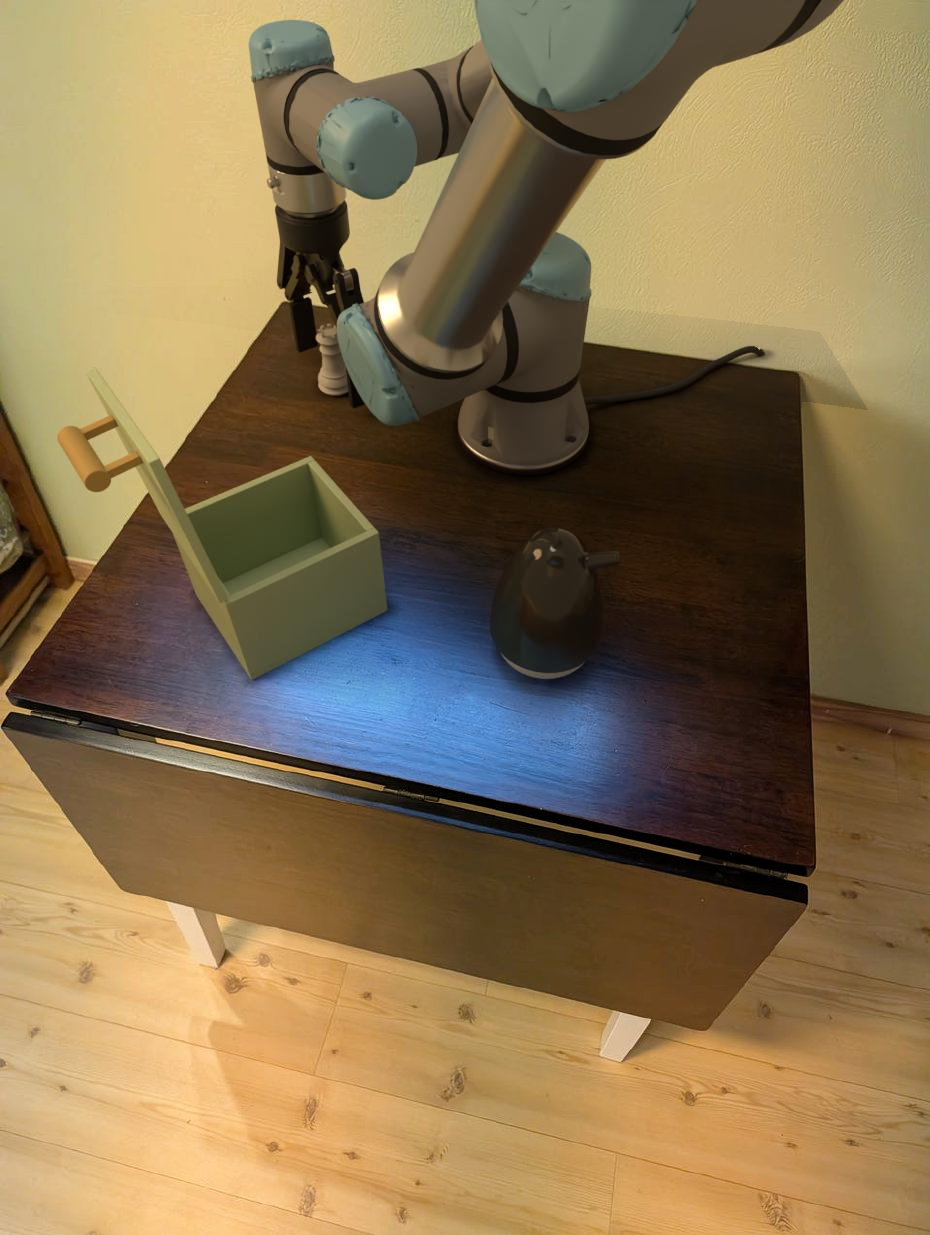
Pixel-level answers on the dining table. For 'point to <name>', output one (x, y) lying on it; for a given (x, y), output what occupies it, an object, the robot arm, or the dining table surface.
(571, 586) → the pump dispenser
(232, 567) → the chest
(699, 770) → the dining table surface
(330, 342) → the rook chess piece
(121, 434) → the lid
